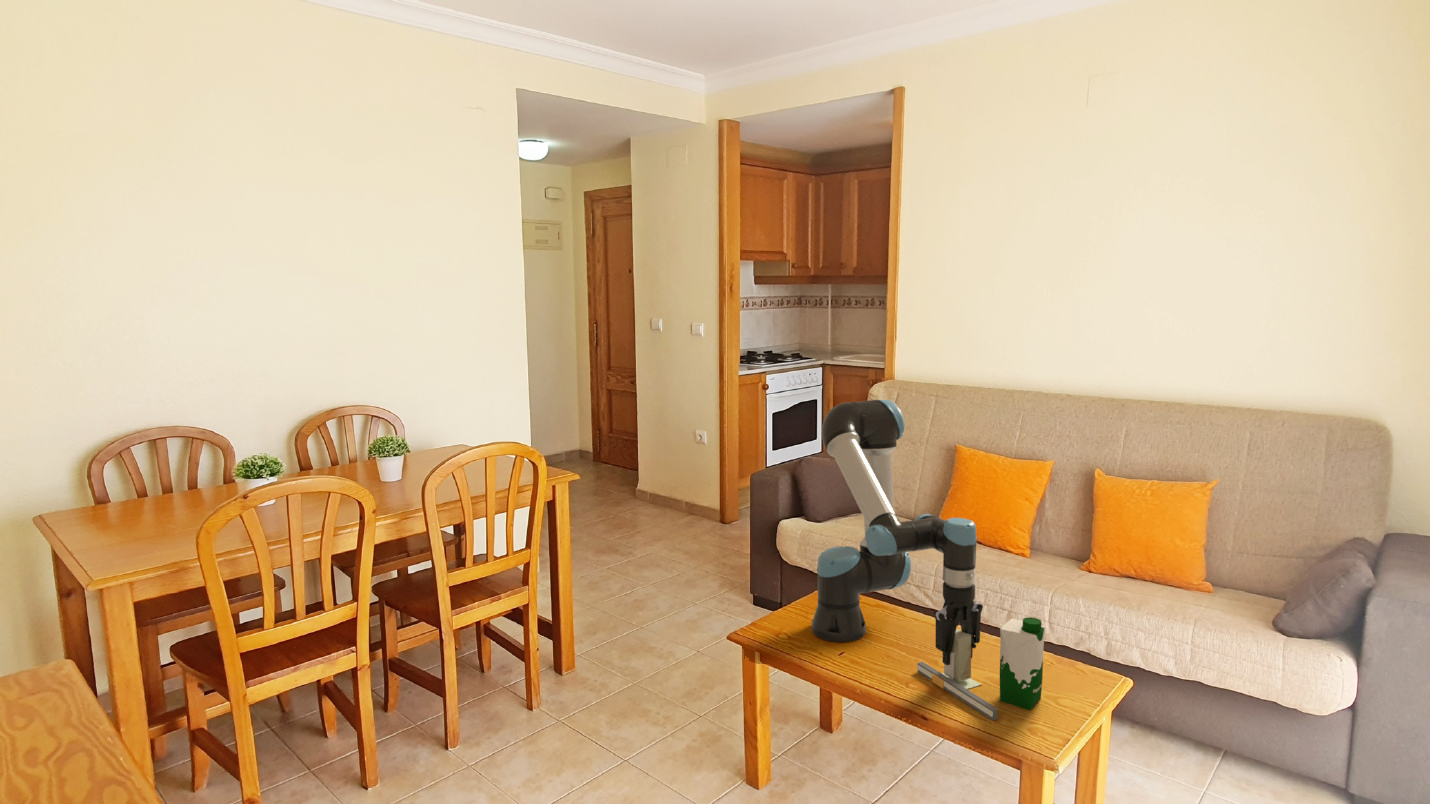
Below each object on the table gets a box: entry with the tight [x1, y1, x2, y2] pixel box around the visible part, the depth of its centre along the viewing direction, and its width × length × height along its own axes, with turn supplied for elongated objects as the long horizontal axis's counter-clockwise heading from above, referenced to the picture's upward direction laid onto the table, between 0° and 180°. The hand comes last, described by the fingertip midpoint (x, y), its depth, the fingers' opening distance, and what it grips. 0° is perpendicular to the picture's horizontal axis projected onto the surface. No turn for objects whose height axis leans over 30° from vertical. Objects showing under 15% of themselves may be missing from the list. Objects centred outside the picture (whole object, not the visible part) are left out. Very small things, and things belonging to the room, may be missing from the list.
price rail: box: [916, 661, 999, 721], centre depth 194 cm, size 26×2×2 cm, turn 25°
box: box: [946, 628, 972, 682], centre depth 200 cm, size 5×4×11 cm
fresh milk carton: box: [999, 616, 1046, 711], centre depth 190 cm, size 9×9×20 cm
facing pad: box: [941, 672, 982, 690], centre depth 201 cm, size 9×7×1 cm
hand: (957, 673), depth 201 cm, fingers closed on box, 4 cm apart
